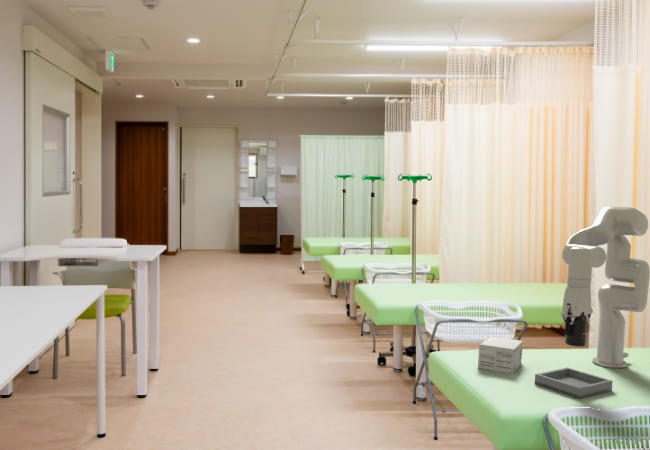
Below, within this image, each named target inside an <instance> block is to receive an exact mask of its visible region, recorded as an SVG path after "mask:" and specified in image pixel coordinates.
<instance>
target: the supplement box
mask: <svg viewBox="0 0 650 450" xmlns="http://www.w3.org/2000/svg"><path fill="white" fill-rule="evenodd" d="M523 343H524V342H523V340H520V339H519V340H518V339H511V338H504V337H497V336H489V337H488V338H486V339H485V340H483V341H482V342H480V343H479V344H478V356H477V357H478V358H477V359H478V361H477V368H479V369H482V368H483V370H488V369H489V371H495V372H500V373H506V374H513V373H514V372H515V371H516V370H517V369H518V367H520V365H521V364H522V358H523V357H522V356H523Z"/></svg>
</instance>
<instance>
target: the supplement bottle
mask: <svg viewBox="0 0 650 450" xmlns="http://www.w3.org/2000/svg"><path fill="white" fill-rule="evenodd" d="M570 315H572V314H570ZM584 316H585V314H584V312H582V313H581V316H578V317H575V320H574V323H573V325H574V336H569V335H565V334H564V335H565V336H564V342H565V344H566V345H568V346H572V347H585V346H586V345H587V335H588V331H587V323H588V322H587V320H586V319H585V318H584ZM569 318H570V320H571V318H572V317H569Z"/></svg>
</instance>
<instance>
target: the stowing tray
mask: <svg viewBox="0 0 650 450" xmlns="http://www.w3.org/2000/svg"><path fill="white" fill-rule="evenodd" d="M534 385H537V386H540V387H543V388H546V389H549V390H551V391H555V392H557V393H561V394H564V395H567V396H570V397H571V398H572V397H573V398H575V399H578V400H581V399H584V398H589V397H593V396H596V395H601V394H604V393H608V392H612V390H613V380H611V379H608V378H605V377H602V376H598V375H594V374H590V373H588V372H586V371H585V372H584V371H580V370H577V369H574V368H570V367H568V366H567V367H563V368H557V369H553V370H549V371H544V372H540V373H534Z"/></svg>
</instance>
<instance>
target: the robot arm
mask: <svg viewBox="0 0 650 450" xmlns="http://www.w3.org/2000/svg"><path fill="white" fill-rule="evenodd" d="M648 229H649V220H648V218H647V215H646V214H644V213H643V212H642V211H640V210H639V209H638V208H635V207H630V206H629V207H628V206H606V207H603V208H601V209H600V210H599V212H598V213H597V215H596V216H595V218H594V219H593V222H592V223H591V225H590V226H589V227H587V228H584V229H581V230H580V231H577V232H575V233H574V234H573V235H571V236H570V237H569V238H568V240H567V242H566V243H565V245H564V247H563V249H562V253H561V255H562V257H561V258H562V261H563V262H564V263H565V264H566V265H568V266H567V267H568V268H567V284H566V287H565V289H564V295H563V300H562V301H563V302H562V309H561V310H562V312H561V313H560V315H561V317H562V319H563V321H564V322H563V323H564V324H565V325H564V335H569V336H574V325H573V323H574V320H575V317H578V316H581V313H582V312H584V314H585V316H584V318H585V319H586V320H587V332H589V331H588V330H589V329H588V328H589V326H588V325H589V322H590V318H591V315H592V314H593V313H594V310H593V308H592V290H591V289H592V286H591V285H592V284H591V283H592V271H593V270H592V269H593V268H601V267H602V266H603V265H604V264H605V267H604V268H605V269H604V274H605V275H604V276H605V278H606V279H607V280H609V281H613V282H617V283H625V284H626V283H627V284H633V286H628V285H627V286H626V285H619V284H612V283H609V284H604V285H602V286H600V288H598V291H597V300H598V307H599V308H598V310H599V311H598V312H599V313H598V314H599V317H598V334H597V350H596V356H594V357H593V358H592V360H591V361H592V363H594V364H596V365H598V366H601V367H605V368H613V369H624V368H626V367H628V363H627V361H625V360H624V359H625V358H628V357H629V353H628V352H624V350H625V348H624V347H625V335H626V334H625V333H626V319H625V317H624V315H623V314H622V312H621V311H623V312H624V311H626V312H634V313H642V312H644V311H645V309H646V308H647V305H648V304H647V303H648V297H649V296H648V295H649V286H650V266H649V265H650V264H649V263H648V262H647V261H646V260H644V259H639V258H631V249H632V246H631V243H630V241H629V240H628V238H627V237H626V236H634V237H642V236H644V235H645V234H647V233H646V232H647V231H648ZM602 245H606V250H605V249H604V248H602V247H601V246H602ZM570 314H572V315H570ZM569 317H572V318H571V320H570V318H569Z"/></svg>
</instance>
